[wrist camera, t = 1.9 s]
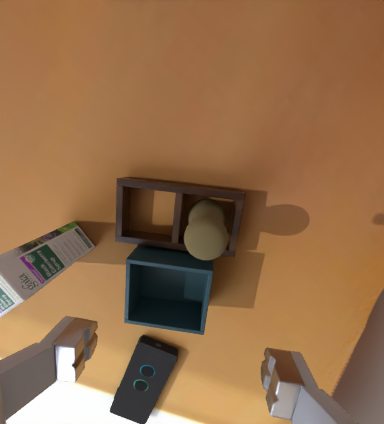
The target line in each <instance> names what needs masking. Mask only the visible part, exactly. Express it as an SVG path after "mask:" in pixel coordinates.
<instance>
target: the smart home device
mask: <svg viewBox="0 0 384 424" xmlns="http://www.w3.org/2000/svg"><path fill="white" fill-rule="evenodd" d="M177 355H178V349H176V348H174V347H171V346H169V345H166V344H164V343H161V342H159V341H156V340H154V339H151V338H148V337H146V336H141V337H140V338H139V341H138V343H137V345H136V348H135V350H134V353H133V355H132V357H131V360H130V362H129V365H128V367H127V369H126V372H125V374H124V377H123V379H122V381H121V384H120V386H119V387H118V389H117V392H116V394H115V397H114V401H113V403H112V406H111V408H110V412H111V413H113V414H116V415H118V416H121V417H124V418H126V419H129V420H131V421H134V422H137V423H139V424H145V423H146V422H147V420H148V418H149V416H150V414H151V412H152V410H153V408H154V406H155V404H156V402H157V400H158V398H159V395H160V393H161V391H162V389H163V387H164V385H165V383H166V381H167V379H168V377H169V375H170V373H171V371H172V369H173V367H174V365H175V363H176V361H177Z"/></svg>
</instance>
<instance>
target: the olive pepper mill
mask: <svg viewBox="0 0 384 424" xmlns="http://www.w3.org/2000/svg"><path fill="white" fill-rule="evenodd" d="M188 222H189V225H188V226H187V228H186V231H185V234H184V243H185V245H186V248H187V250H188V251H189V253H190V254H191V255H193V256H194V257H195V258H198V259H201V260H212V259H215V258H217V257H219V256H220V255H221V254H222V253H223V252H224V251H225V249H226V247H227V244H228V233H227V230H226V228H225V226H224V224H225V212H224V209H223V208H222V206H221V205H220V204H219V203H218V202H216V201H214V200H211V199H203V200H199V201H197V202H196V203H194V204H193V205H192V207H191V208H190V210H189V213H188Z"/></svg>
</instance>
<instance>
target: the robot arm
mask: <svg viewBox="0 0 384 424" xmlns="http://www.w3.org/2000/svg"><path fill="white" fill-rule="evenodd" d="M97 328H98V326H97V322H96V321H92V320H87V319H82V318H75V317H69V316H66V317H64V318H63V319H62V320H61V321H60V322H59V323H58V324H57V325H56V326H55V327H54V328H53V329H52V330H51V331H50V332H49V333H48V334H47V335H46V337H45V338H44V339H43V340H42V341H41V342H40V343H34V344H32V345H30V346H28V347H26V348H24V349H22V350H20V351H18V352H16V353H14V354H12V355H10V356H8V357H6V358H4V359H2V360H0V424H6V420H7V419H8V418H10V417H11V416H12V415H13V414H15V413H16V412H17V411H19V410H20V409H21V408H22V407H24V406H25V405H26V404H27V403H29V402H30V401H31V400H33V399H34V398H35V397H36V396H38V395H39V394H40V393H42V392H43V391H44V390H45V389H47V388H48V387H49V386H51V385H52V384H53V383H54V382H56V380H60V381H68V382H75V383H76V381H77V379H78V378H79V376H80V374H81V373H82V371H83V370H84V368H85V362H86V361H87V360H89V359H90V358H91V356H92V355H93V353H94V350H95V348H96V345H97V337H98V336H97V334H96V333H95V331H96V330H97ZM264 356H265V360H264V361H263V362H262V365H261V380H262V385H263V388H264V389H265V390H266V391H267V395H266V401H267V405H268V409H269V413H270V416H273V417H277V418H282V419H287V420H292V421H291V422H292V423H293V424H358V423H357V422H356V421H355V420H354V419H353V418H352V417H351V416H350V415H349V414H348V413H347V412H346V411H345V410H344V409H343V408H341V407H340V406H339V405H338V404H337V403H336V402H335V401H334V400H333V399H332V398H331V397H330V396H329V395H328V394H327V393H326V392H325V391H324V390H322V389H319V388H318V386H317V384H316V382H315V380H314V378H313V376H312V374H311V372H310V370H309V368H308V366H307V364H306V362H305V360H304V358H303V356H302V354H301V353H300V352H294V351H287V350H280V349H273V348H266V349H265V352H264Z"/></svg>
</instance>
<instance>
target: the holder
mask: <svg viewBox="0 0 384 424" xmlns="http://www.w3.org/2000/svg"><path fill="white" fill-rule="evenodd" d="M130 187H134V188H142V189H151V190H159V191H167V192H175V193H176V198H175V209H174V220H173V231H172V236H169V235H161V234H153V233H146V232H138V231H131V230H129V208H130ZM185 194H192V195H200V196H209V197H217V198H225V199H233V200H234V204H233V210H232V217H231V223H230V229H229V235H228V244H227V247H226V249H225V251H224V252H223V253H222V254H221V256H229V257H235V251H236V245H237V240H238V234H239V228H240V222H241V217H242V211H243V205H244V199H245V193H244V192H242V191H238V190H229V189H221V188H212V187H204V186H195V185H187V184H179V183H170V182H162V181H153V180H145V179H136V178H128V177H123V178H118V179H117V191H116V241H117V242H125V243H132V244H139V245H147V246H154V247H162V248H169V249H177V250H184V251H188V250H187V248H186V245H185V243H184V237H180V236H181V226H182V216H183V206H184V196H185Z"/></svg>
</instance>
